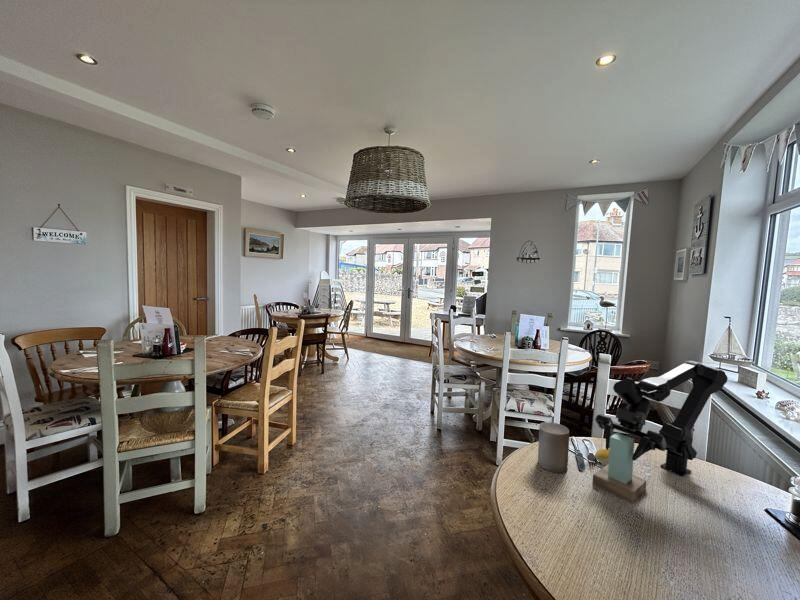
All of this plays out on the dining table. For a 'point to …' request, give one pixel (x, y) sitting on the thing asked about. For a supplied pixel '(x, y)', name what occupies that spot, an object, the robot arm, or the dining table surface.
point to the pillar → (621, 458)
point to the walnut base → (620, 485)
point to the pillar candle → (553, 447)
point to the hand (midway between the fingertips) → (619, 454)
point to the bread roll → (602, 456)
